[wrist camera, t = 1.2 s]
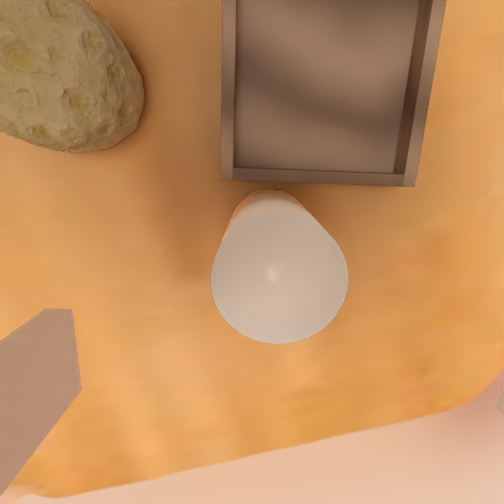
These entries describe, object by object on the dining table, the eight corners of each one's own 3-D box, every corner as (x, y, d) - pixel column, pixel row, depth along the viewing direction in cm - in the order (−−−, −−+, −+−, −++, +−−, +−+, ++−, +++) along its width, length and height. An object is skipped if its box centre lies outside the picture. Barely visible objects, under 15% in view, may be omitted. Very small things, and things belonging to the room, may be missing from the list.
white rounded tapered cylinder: (230, 187, 26) (210, 212, 14) (312, 190, 26) (356, 217, 14) (229, 264, 28) (210, 341, 16) (305, 267, 28) (340, 346, 16)
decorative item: (166, 107, 28) (159, -20, 19) (110, 202, 24) (69, 102, 15) (57, 60, 27) (-6, -96, 18) (-17, 151, 24) (-143, 14, 14)
